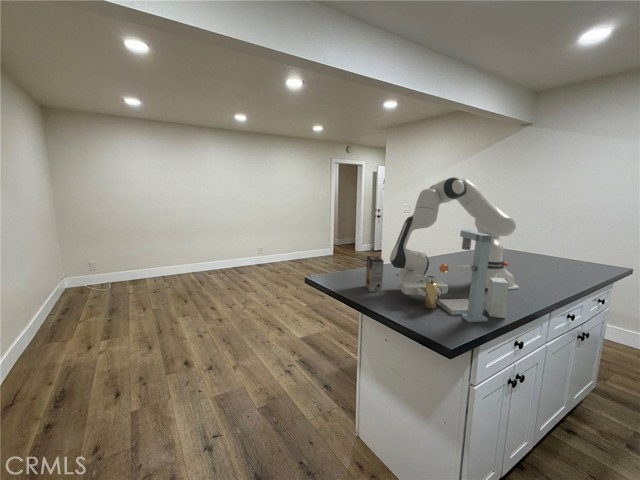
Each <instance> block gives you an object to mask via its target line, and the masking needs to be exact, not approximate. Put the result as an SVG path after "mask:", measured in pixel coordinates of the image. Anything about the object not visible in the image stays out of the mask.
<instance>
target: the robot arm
mask: <svg viewBox="0 0 640 480" xmlns="http://www.w3.org/2000/svg"><path fill="white" fill-rule="evenodd" d="M454 200H456V201H457V203H459V204H460V206H461V207H463V209H464V210H465V211H466V212H467V214H469V215H470V216H471V217H473V219H475V220H474V225H475V227H476V230H477V232H478V233H482V234H487V235H491V243H490V251H489V259H488V268H487V276H486V284H485V289H487V290H488V284H489V277H493V278H504V279H505V280H506V281H507V282H508V283H509V284H508V291H509V290H519V289H520V287H519V285H518V284H516V283H515V277H514V275H513V274H511V273H510V271H508V270H507V269H506V268H505V267H508V266H510V264H509V262H506V261H503V253H504V246H503V243H502V241H501V237H507V236H510V235H512V234H513V233H514V232H515V230H516V227H517V224H516V221H515V219H514V218H512V217H510V216H509V215H507V214H506V213H505V212H504V211H502V209H500V208H498V207H497V206H496V205H495V204H493V203H492V202H491V201H490V200H489V199H488V198H487V197H486V196H485V195H484V194H483V193H482V191H480V189H479V188H478V187H477V186H476V185H475V184H473V183H472V182H471V181H470V180H468V179H466V178H460V177H449V178H446V179H443V180H441V181H439V182H437V183H436V184H433V185H431V186H430V187H429V188H425V189H422V190H421V191H420V193H419V195H418V198H417V200H416V204H415V208H414V211H413V214H412V215H410V216H408V217H407V218H406V220H405V221H404V223H403V225H402V228H401V230H400V233H399V235H398V237H397V240H396V243H395V245H394V247H393V249H392V251H391V253H390V256H389V261H390V264H391V266H393V267H394V268H397V269H399V270H398V278H399V280H400V282H401V283H399V284H397V287H398V288H400V290H401V292H402V293H403V294H404V295H411V296H412V295H421V296H423V297H425V296H427V292H426V282H431V280H434V282H436V283H438V291H437V297H440V296H441V294H447V293H448V291H449V285H448V284H447V283H445V282H444V281H443V280H440V279H438V277H437V276H433V275H426V273H427V272H428V270H429V266H430V260H429V257H428V255H427V254H426V253H423V252H419V251H416V250H411V249H408V248H407V245H408V242H409V239H410V237H411V235H412V232H414V231H416V230H420V229H426V228H430V227H432V226H433V225H434V224H435V223H436V221H437V218H438V214H439V210H440V209H439V208H440V207H439V206H440V205H441V204H445V203H449V202H451V201H454Z"/></svg>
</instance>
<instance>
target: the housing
mask: <svg viewBox="0 0 640 480" xmlns="http://www.w3.org/2000/svg"><path fill="white" fill-rule="evenodd" d="M437 291H438V283H436V282H434V280H431V282H426V292H427V296H424V306H425V307H426V308H429V309H435V308H436V307H437V303H438V296H437Z"/></svg>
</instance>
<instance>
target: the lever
mask: <svg viewBox="0 0 640 480" xmlns="http://www.w3.org/2000/svg"><path fill="white" fill-rule="evenodd" d="M476 270H477V267H475V266H473V264H452V265H451V264H448V265H447V264H445V263H443V264H440V266H439V271H440V272H442V273H448V272H472V271H474V272H475V271H476Z"/></svg>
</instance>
